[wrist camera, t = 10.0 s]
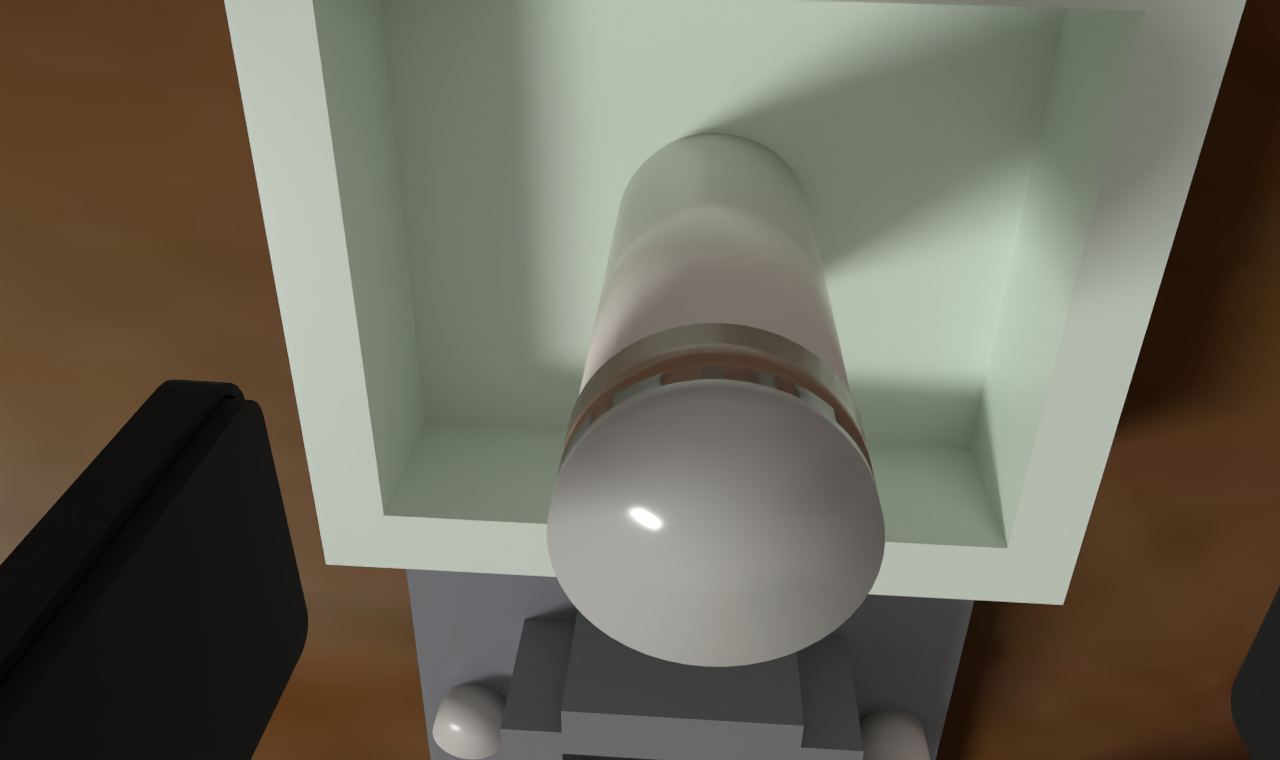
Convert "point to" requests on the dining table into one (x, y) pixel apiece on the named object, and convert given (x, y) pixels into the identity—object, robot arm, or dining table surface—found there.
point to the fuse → (715, 424)
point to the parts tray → (841, 214)
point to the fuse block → (672, 682)
